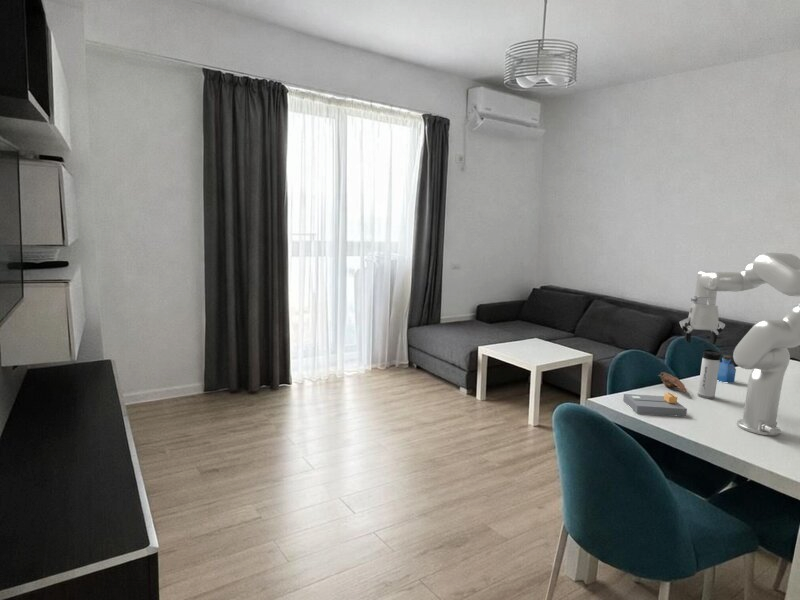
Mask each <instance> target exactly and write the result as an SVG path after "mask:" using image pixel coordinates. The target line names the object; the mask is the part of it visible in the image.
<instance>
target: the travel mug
mask: <svg viewBox="0 0 800 600" xmlns="http://www.w3.org/2000/svg"><path fill="white" fill-rule="evenodd" d="M720 362H721V352H719V351H717V350H713V349H711V348H705V349H704V350H703V353H702V358H701V365H700V375H699V381H698V389H697V397H700V398H702V397H703V399H706V398H708V399H707V400H714V399H715V398H716V389H717V383H718V381H717V377H718V370H719V363H720Z"/></svg>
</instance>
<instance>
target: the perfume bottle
mask: <svg viewBox="0 0 800 600" xmlns="http://www.w3.org/2000/svg"><path fill="white" fill-rule="evenodd" d="M731 358H732V357H731V356H730V355H726V354H723V355H722V358H721V361H720V363H719V370H718V377H717V380H719V381H718V382H720V381H723V382H731V383H735V379H736V374H737V373H736V371H737V369H736V367H735V365H734V363H730V362H731V361H732V359H731ZM723 382H722V383H723Z"/></svg>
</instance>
